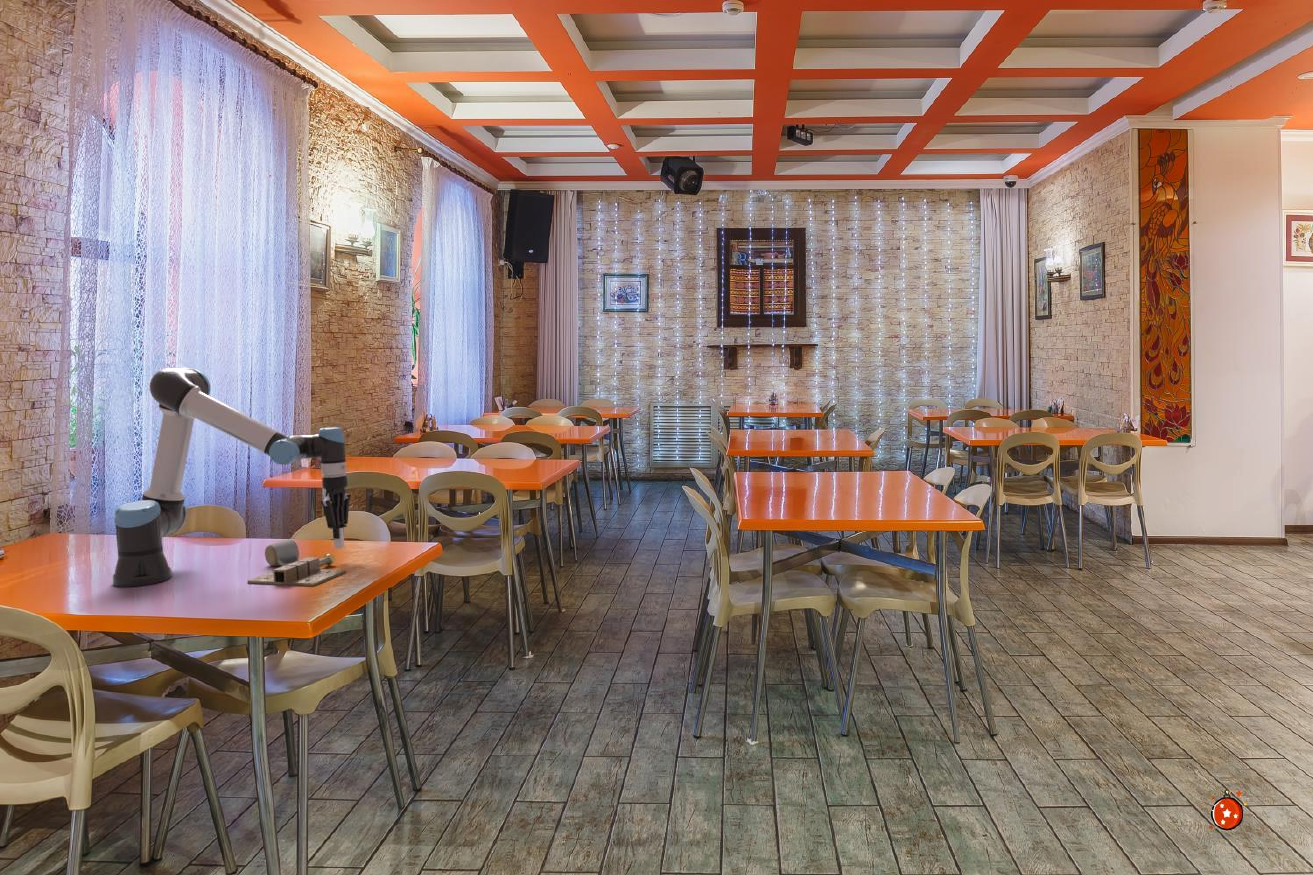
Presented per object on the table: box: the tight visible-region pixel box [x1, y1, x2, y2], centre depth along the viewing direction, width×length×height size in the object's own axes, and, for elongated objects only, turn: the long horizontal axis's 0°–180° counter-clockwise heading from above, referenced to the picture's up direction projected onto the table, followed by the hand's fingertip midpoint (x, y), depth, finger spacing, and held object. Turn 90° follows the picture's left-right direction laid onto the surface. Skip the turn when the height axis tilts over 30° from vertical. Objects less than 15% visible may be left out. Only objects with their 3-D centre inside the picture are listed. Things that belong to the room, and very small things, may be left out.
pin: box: [296, 553, 336, 569], centre depth 263 cm, size 17×3×3 cm, turn 167°
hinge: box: [247, 556, 347, 587], centre depth 255 cm, size 16×22×4 cm
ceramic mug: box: [264, 538, 300, 567], centre depth 272 cm, size 11×8×8 cm
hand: (339, 547), depth 275 cm, fingers closed
